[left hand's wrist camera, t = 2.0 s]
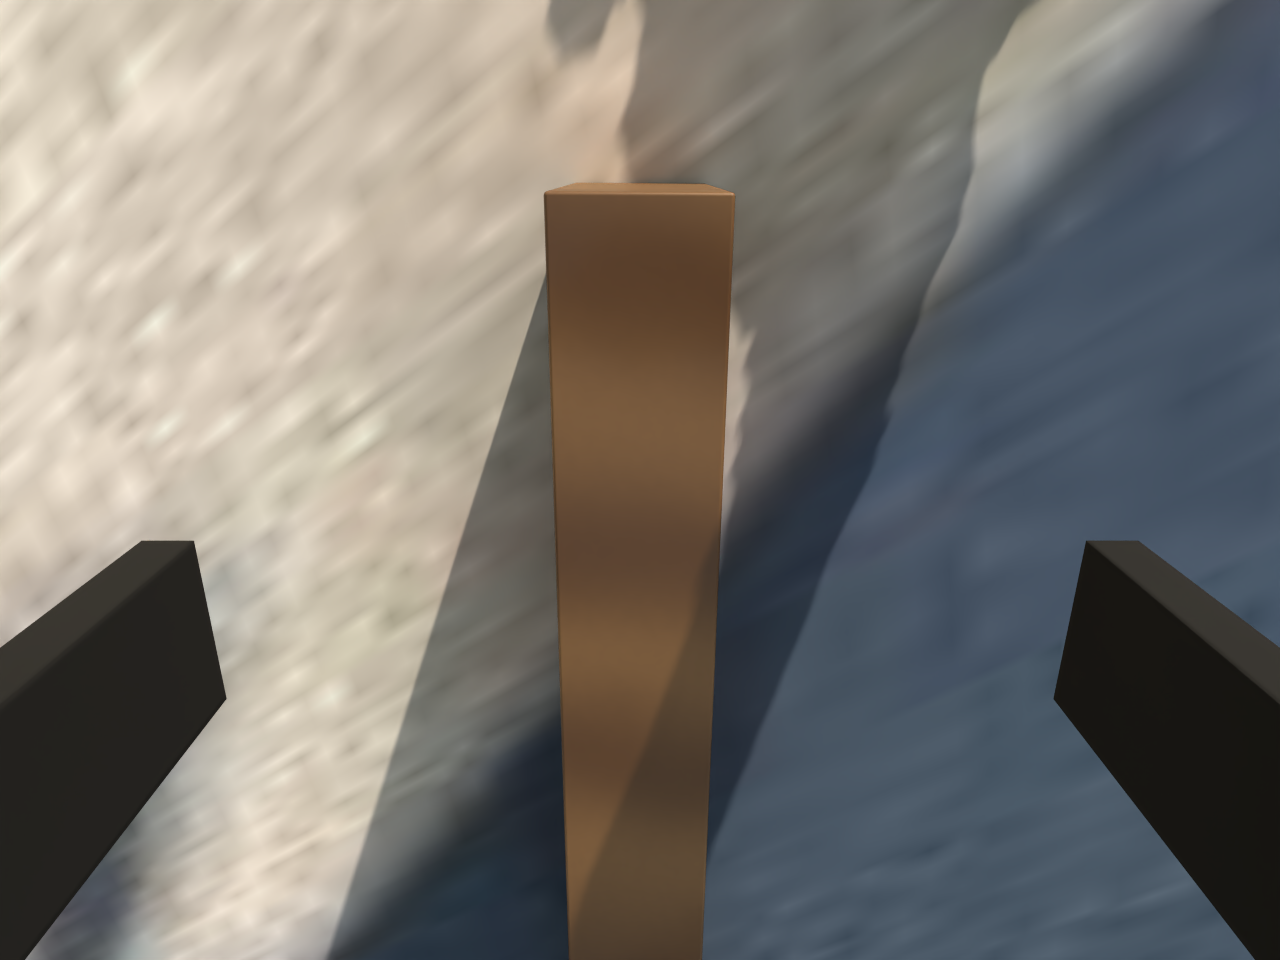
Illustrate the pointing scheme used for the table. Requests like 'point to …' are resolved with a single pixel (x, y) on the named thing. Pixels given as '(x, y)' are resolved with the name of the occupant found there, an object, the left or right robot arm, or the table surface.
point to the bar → (637, 548)
